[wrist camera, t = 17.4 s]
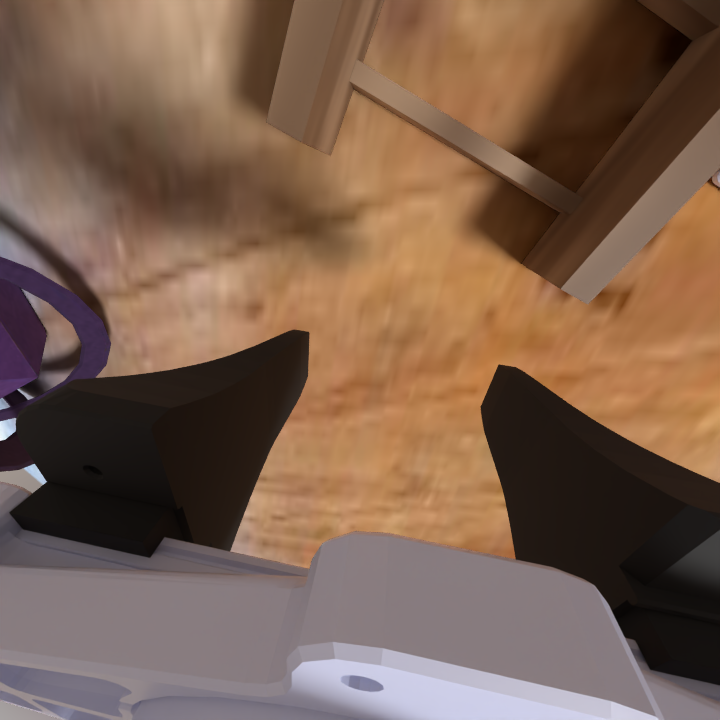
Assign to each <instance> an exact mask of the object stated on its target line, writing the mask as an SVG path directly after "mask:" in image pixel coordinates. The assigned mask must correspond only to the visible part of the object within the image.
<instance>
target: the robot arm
mask: <svg viewBox="0 0 720 720" xmlns="http://www.w3.org/2000/svg"><path fill="white" fill-rule="evenodd" d="M712 182H713V183H714V184H715V185H717V186H718V187H720V168H719V169H718V170H717V171H716V172H715V173H714V174H713V176H712ZM308 358H309V332H306V331H300V330H291V331H288V332H286V333H283V334H281V335H279V336H276V337H274V338H272V339H270V340H267V341H265V342H263V343H261V344H258V345H256V346H253V347H251V348H248V349H245V350H243V351H240V352H238V353H235V354H232V355H229V356H226V357H223V358H220V359H216V360H213V361H209V362H205V363H201V364H197V365H192V366H187V367H182V368H178V369H173V370H167V371H160V372H154V373H146V374H138V375H129V376H118V377H103V378H89V379H75V380H72V381H70V382H69V383H67V384H65V385H63V386H62V387H60V388H58V389H56V390H55V391H53V392H51V393H49V394H48V395H46V396H44V397H42V398H41V399H39V400H37V401H35V402H34V403H32V404H30V405H28V406H27V407H25V408H24V409H23V410H21V411H20V412H19V414H18V417H17V419H16V430H17V435H18V437H19V439H20V441H21V443H22V445H23V446H24V448H25V450H26V451H27V453H28V454H29V456H30V457H31V459H32V460H33V462H34V463H35V465H36V466H37V468H38V469H39V471H40V472H41V474H42V475H43V477H44V478H45V480H46V481H47V482H46V483H45V484H44V485H42V486H41V487H40V488H39V489H38V490H36V491H35V492H34V493H33V494H32V493H31V492H29V491H28V490H26V489H24V488H22V487H20V486H17V485H13V484H9V483H4V482H0V701H3V702H7V703H9V704H13V705H16V706H19V707H23V708H26V709H29V710H33V711H36V712H39V713H43V714H46V715H49V716H52V717H55V718H59V719H62V720H720V483H718V482H716V481H713V480H711V479H709V478H706V477H704V476H702V475H699V474H697V473H695V472H693V471H690V470H688V469H686V468H684V467H682V466H679V465H677V464H675V463H673V462H671V461H669V460H667V459H665V458H663V457H661V456H659V455H657V454H655V453H653V452H650V451H648V450H646V449H644V448H642V447H641V446H639V445H637V444H635V443H633V442H631V441H629V440H627V439H626V438H624V437H622V436H620V435H618V434H617V433H615V432H613V431H611V430H610V429H608V428H606V427H604V426H603V425H601V424H599V423H598V422H596V421H595V420H593V419H591V418H590V417H588V416H587V415H585V414H584V413H582V412H581V411H579V410H578V409H576V408H575V407H573V406H572V405H570V404H569V403H567V402H566V401H564V400H563V399H562V398H560V397H559V396H557V395H556V394H555V393H553V392H552V391H550V390H549V389H548V388H546V387H545V386H543V385H542V384H541V383H539V382H538V381H536V380H535V379H534V378H532V377H531V376H529V375H528V374H526V373H525V372H523V371H522V370H520V369H518V368H516V367H511V366H505V365H498V367H497V370H496V372H495V374H494V377H493V379H492V382H491V384H490V386H489V389H488V391H487V393H486V396H485V398H484V400H483V403H482V405H481V414H482V421H483V427H484V432H485V435H486V438H487V442H488V445H489V448H490V451H491V454H492V457H493V460H494V463H495V467H496V470H497V473H498V476H499V479H500V482H501V485H502V489H503V493H504V497H505V502H506V507H507V512H508V517H509V522H510V527H511V533H512V539H513V545H514V551H515V557H516V560H515V559H511V558H506V557H501V556H496V555H491V554H487V553H482V552H477V551H472V550H467V549H463V548H458V547H453V546H448V545H443V544H439V543H434V542H429V541H424V540H419V539H415V538H410V537H405V536H400V535H395V534H390V533H379V532H361V531H354V532H350V533H347V534H344V535H341V536H338V537H335V538H332V539H329V540H327V541H325V542H324V543H322V545H321V546H320V548H319V549H318V551H317V552H316V554H315V555H314V557H313V558H312V561H311V565H310V569H308V568H303V567H298V566H294V565H289V564H285V563H280V562H276V561H271V560H266V559H262V558H257V557H253V556H248V555H244V554H239V553H234V552H230V550H231V547H232V545H233V542H234V539H235V536H236V534H237V531H238V528H239V526H240V523H241V520H242V518H243V515H244V512H245V510H246V507H247V505H248V502H249V499H250V497H251V495H252V492H253V490H254V487H255V485H256V482H257V480H258V477H259V475H260V473H261V470H262V468H263V466H264V463H265V461H266V459H267V456H268V454H269V452H270V449H271V448H272V446H273V444H274V442H275V440H276V438H277V436H278V434H279V433H280V431H281V429H282V427H283V426H284V424H285V422H286V420H287V419H288V417H289V415H290V413H291V412H292V410H293V408H294V406H295V405H296V403H297V401H298V399H299V397H300V395H301V393H302V390H303V388H304V385H305V383H306V380H307V377H308Z"/></svg>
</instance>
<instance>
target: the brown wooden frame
mask: <svg viewBox="0 0 720 720" xmlns="http://www.w3.org/2000/svg"><path fill="white" fill-rule="evenodd" d="M637 1H638V2H640V3H641V4H642V5H644V6H645V7H646V8H648V9H649V10H651V11H652V12H653V13H655V14H656V15H658V16H659V17H660V18H662V19H663V20H665V21H666V22H667V23H669V24H670V25H671V26H673V27H674V28H676V29H677V30H678V31H680V32H681V33H683V34H684V35H685V36H687V37H688V38H689V39H691V40H692V42H691V43H690V45H689V46H688V47H687V49H686V50H685V51H684V53H683V54H682V55H681V56H680V58H679V59H678V60H677V62H676V63H675V64H674V66H673V67H672V68H671V69H670V71H669V72H668V73H667V75H666V76H665V77H664V79H663V80H662V81H661V82H660V84H659V85H658V86H657V88H656V89H655V90H654V92H653V93H652V94H651V95H650V97H649V98H648V99H647V101H646V102H645V103H644V105H643V106H642V107H641V108H640V110H639V111H638V112H637V114H636V115H635V116H634V118H633V119H632V120H631V121H630V123H629V124H628V125H627V127H626V128H625V129H624V131H623V132H622V133H621V135H620V136H619V137H618V138H617V140H616V141H615V142H614V144H613V145H612V146H611V148H610V149H609V150H608V151H607V153H606V154H605V155H604V157H603V158H602V159H601V161H600V162H599V163H598V164H597V166H596V167H595V168H594V170H593V171H592V172H591V174H590V175H589V176H588V177H587V179H586V180H585V181H584V183H583V184H582V185H581V187H580V188H579V189H578V190H577V192H576V193H574V192H572V191H571V190H569V189H568V188H566V187H564V186H563V185H561V184H559V183H558V182H556V181H554V180H553V179H551V178H550V177H548V176H546V175H545V174H543V173H541V172H540V171H538V170H537V169H535V168H533V167H532V166H530V165H528V164H527V163H525V162H524V161H522V160H520V159H519V158H517V157H515V156H514V155H512V154H510V153H509V152H507V151H506V150H504V149H502V148H501V147H499V146H497V145H496V144H494V143H493V142H491V141H489V140H488V139H486V138H484V137H483V136H481V135H480V134H478V133H476V132H475V131H473V130H471V129H470V128H468V127H466V126H465V125H463V124H462V123H460V122H458V121H457V120H455V119H453V118H452V117H450V116H449V115H447V114H445V113H444V112H442V111H440V110H439V109H437V108H436V107H434V106H432V105H431V104H429V103H427V102H426V101H424V100H422V99H421V98H419V97H418V96H416V95H414V94H413V93H411V92H409V91H408V90H406V89H405V88H403V87H401V86H400V85H398V84H396V83H395V82H393V81H392V80H390V79H388V78H387V77H385V76H383V75H382V74H380V73H378V72H377V71H375V70H374V69H372V68H370V67H369V66H367V65H365V64H364V63H363V60H364V57H365V54H366V52H367V49H368V46H369V43H370V40H371V37H372V34H373V31H374V28H375V25H376V22H377V20H378V17H379V14H380V11H381V8H382V5H383V2H384V0H294V4H293V9H292V13H291V17H290V22H289V26H288V30H287V34H286V39H285V43H284V47H283V52H282V56H281V60H280V65H279V69H278V73H277V78H276V82H275V86H274V90H273V95H272V99H271V103H270V108H269V112H268V116H267V121H266V123H268V124H270V125H272V126H273V127H275V128H277V129H279V130H281V131H282V132H284V133H286V134H288V135H289V136H291V137H293V138H295V139H296V140H298V141H300V142H302V143H304V144H306V145H308V146H311V147H313V148H315V149H317V150H320V151H322V152H324V153H326V154H328V155H331V153H332V150H333V147H334V144H335V141H336V139H337V136H338V133H339V130H340V127H341V124H342V121H343V118H344V115H345V112H346V110H347V107H348V104H349V101H350V98H351V95H352V92H353V89H355V90H356V91H358V92H360V93H361V94H363V95H365V96H366V97H368V98H370V99H371V100H373V101H375V102H376V103H378V104H380V105H381V106H383V107H385V108H386V109H388V110H390V111H391V112H393V113H395V114H396V115H398V116H400V117H401V118H403V119H405V120H406V121H408V122H410V123H411V124H413V125H415V126H416V127H418V128H420V129H421V130H423V131H425V132H426V133H428V134H430V135H431V136H433V137H434V138H436V139H438V140H439V141H441V142H443V143H444V144H446V145H448V146H449V147H451V148H453V149H454V150H456V151H458V152H459V153H461V154H463V155H464V156H466V157H468V158H469V159H471V160H473V161H474V162H476V163H478V164H479V165H481V166H483V167H484V168H486V169H488V170H489V171H491V172H493V173H494V174H496V175H498V176H499V177H501V178H503V179H504V180H506V181H508V182H509V183H511V184H513V185H514V186H516V187H518V188H519V189H521V190H523V191H524V192H526V193H528V194H529V195H531V196H533V197H534V198H536V199H538V200H539V201H541V202H543V203H544V204H546V205H548V206H549V207H551V208H553V209H554V210H556V211H558V212H559V213H560V214H559V215H558V216H557V218H556V219H555V220H554V222H553V223H552V224H551V226H550V227H549V228H548V229H547V231H546V232H545V233H544V235H543V236H542V237H541V239H540V240H539V241H538V242H537V244H536V245H535V246H534V248H533V249H532V250H531V252H530V253H529V254H528V255H527V257H526V258H525V259H524V261H523V262H522V263H521V264H523V265H524V266H526V267H527V268H529V269H530V270H532V271H533V272H535V273H536V274H538V275H540V276H541V277H543V278H544V279H546V280H547V281H549V282H550V283H552V284H554V285H555V286H557V287H558V288H560V289H561V290H563V291H565V292H567V293H569V294H570V295H572V296H574V297H576V298H577V299H579V300H581V301H583V302H584V303H586V304H589V303H590V302H591V301H592V300H593V299H594V298H595V297H596V296H597V294H598V293H599V292H600V291H601V290H602V289H603V288H604V287H605V286H606V285H607V284H608V283H609V282H610V281H611V280H612V279H613V278H614V277H615V276H616V275H617V274H618V273H619V272H620V271H621V270H622V269H623V268H624V267H625V266H626V264H627V263H628V262H629V261H630V260H631V259H632V258H633V257H634V256H635V255H636V254H637V253H638V252H639V251H640V250H641V249H642V248H643V247H644V246H645V245H646V244H647V243H648V242H649V241H650V240H651V239H652V238H653V237H654V236H655V234H656V233H657V232H658V231H659V230H660V229H661V228H662V227H663V226H664V225H665V224H666V223H667V222H668V221H669V220H670V219H671V218H672V217H673V216H674V215H675V214H676V213H677V212H678V211H679V210H680V209H681V208H682V207H683V206H684V204H685V203H686V202H687V201H688V200H689V199H690V198H691V197H692V196H693V195H694V194H695V193H696V192H697V191H698V190H699V189H700V188H701V187H702V186H703V185H704V184H705V183H706V182H707V181H708V180H709V179H710V178H711V177H712V176H713V174H714V173H715V172H716V171H717V170H718V169H719V168H720V0H637Z"/></svg>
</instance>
